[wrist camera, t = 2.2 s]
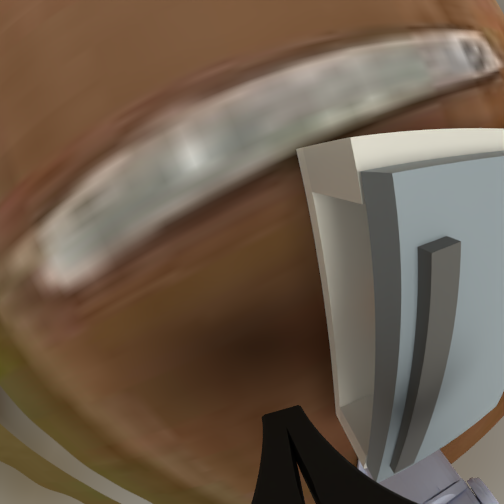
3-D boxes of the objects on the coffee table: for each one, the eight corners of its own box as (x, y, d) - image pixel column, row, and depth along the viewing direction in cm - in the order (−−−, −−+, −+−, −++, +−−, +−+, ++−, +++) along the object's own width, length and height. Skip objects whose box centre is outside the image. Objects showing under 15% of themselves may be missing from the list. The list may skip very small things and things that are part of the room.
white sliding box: (522, 304, 20) (555, 324, 14) (335, 414, 18) (363, 469, 13) (528, 131, 14) (571, 134, 9) (296, 149, 13) (350, 137, 7)
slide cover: (484, 393, 13) (501, 409, 11) (366, 465, 12) (379, 490, 10) (518, 149, 8) (552, 153, 6) (360, 171, 7) (407, 174, 5)
